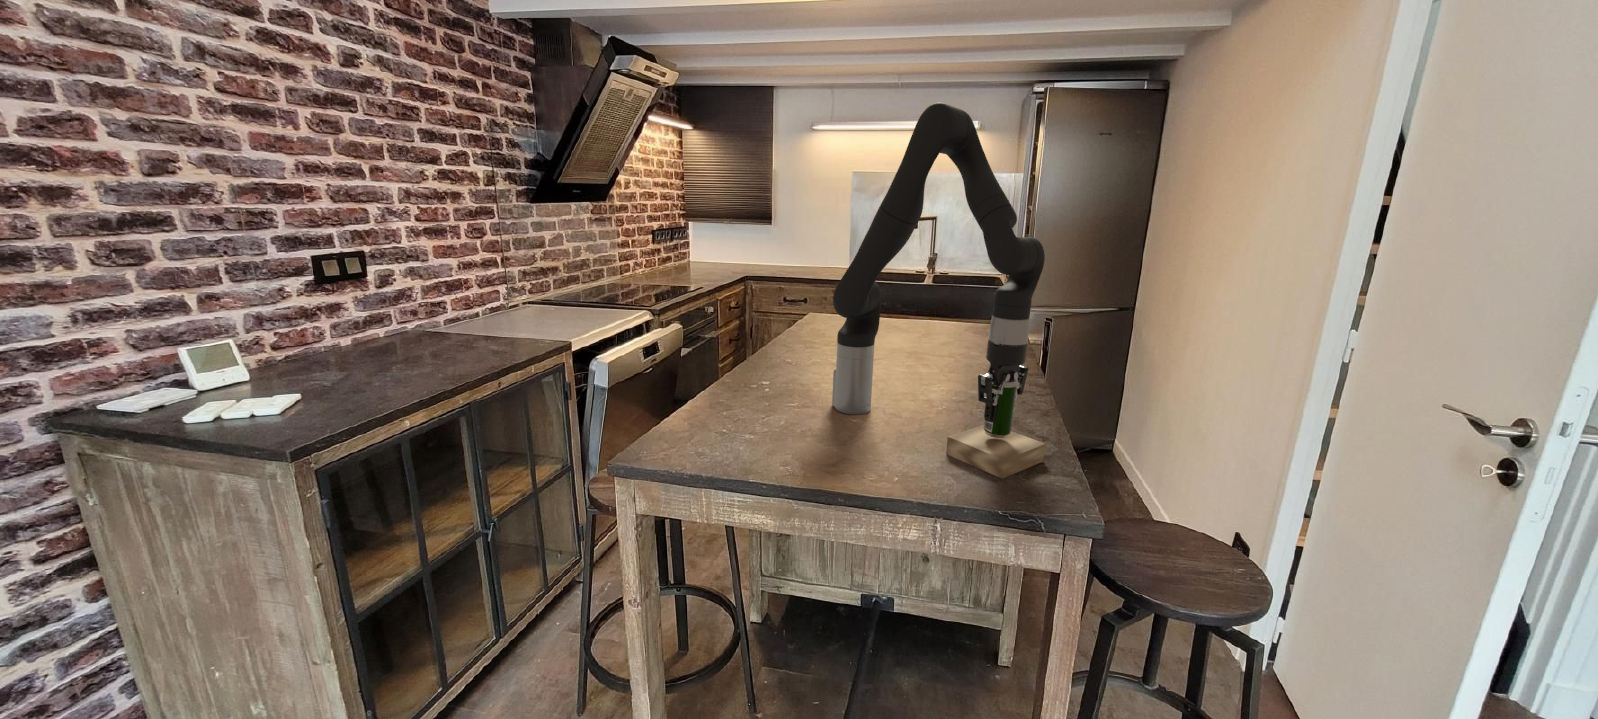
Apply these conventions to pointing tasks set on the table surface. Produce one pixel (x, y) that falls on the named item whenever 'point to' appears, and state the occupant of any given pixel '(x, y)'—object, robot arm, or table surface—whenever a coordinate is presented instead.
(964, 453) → the oak pedestal
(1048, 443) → the table surface
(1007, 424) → the beer can
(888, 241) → the robot arm
